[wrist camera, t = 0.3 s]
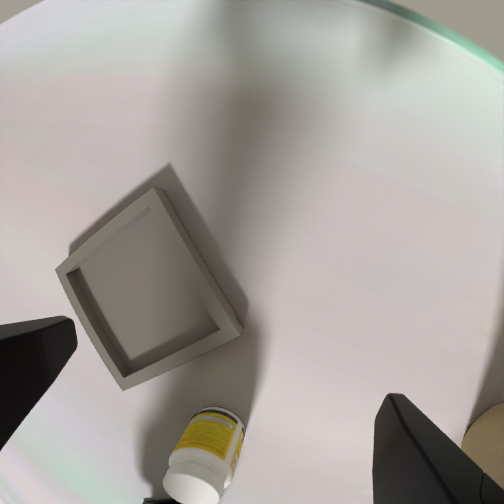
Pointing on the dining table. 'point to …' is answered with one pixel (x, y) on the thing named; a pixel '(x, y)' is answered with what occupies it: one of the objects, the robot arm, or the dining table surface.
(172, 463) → the supplement bottle
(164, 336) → the tray
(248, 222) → the dining table surface
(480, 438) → the plant pot
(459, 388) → the dining table surface
